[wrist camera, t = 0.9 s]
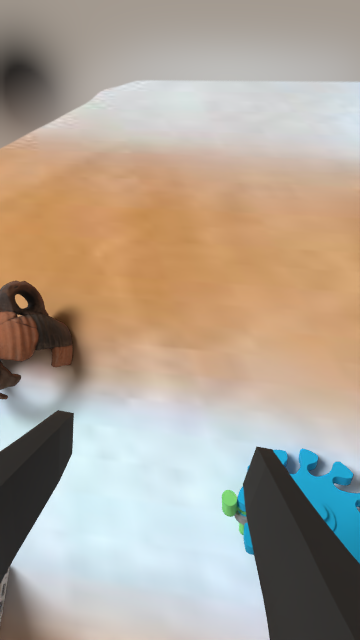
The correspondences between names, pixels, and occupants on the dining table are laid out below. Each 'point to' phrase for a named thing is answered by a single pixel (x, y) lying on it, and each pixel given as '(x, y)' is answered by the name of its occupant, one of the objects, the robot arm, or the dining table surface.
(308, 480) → the blue knobby piece
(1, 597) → the laptop
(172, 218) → the dining table surface
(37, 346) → the pottery mug
